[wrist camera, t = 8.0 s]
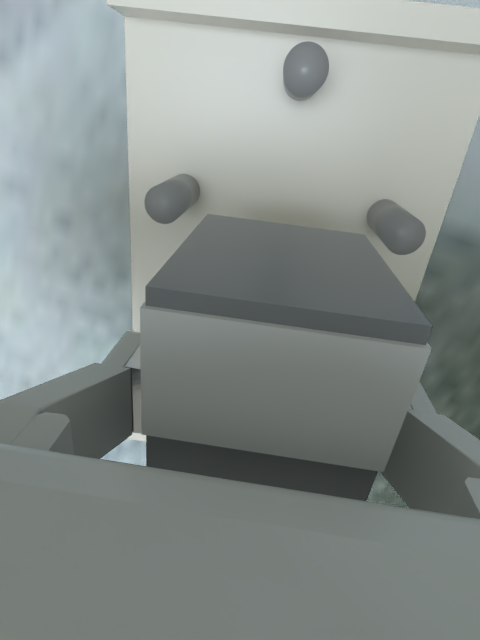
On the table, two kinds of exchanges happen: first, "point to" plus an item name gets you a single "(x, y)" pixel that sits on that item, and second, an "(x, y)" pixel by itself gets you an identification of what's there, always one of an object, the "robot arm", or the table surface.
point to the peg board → (297, 121)
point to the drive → (278, 357)
